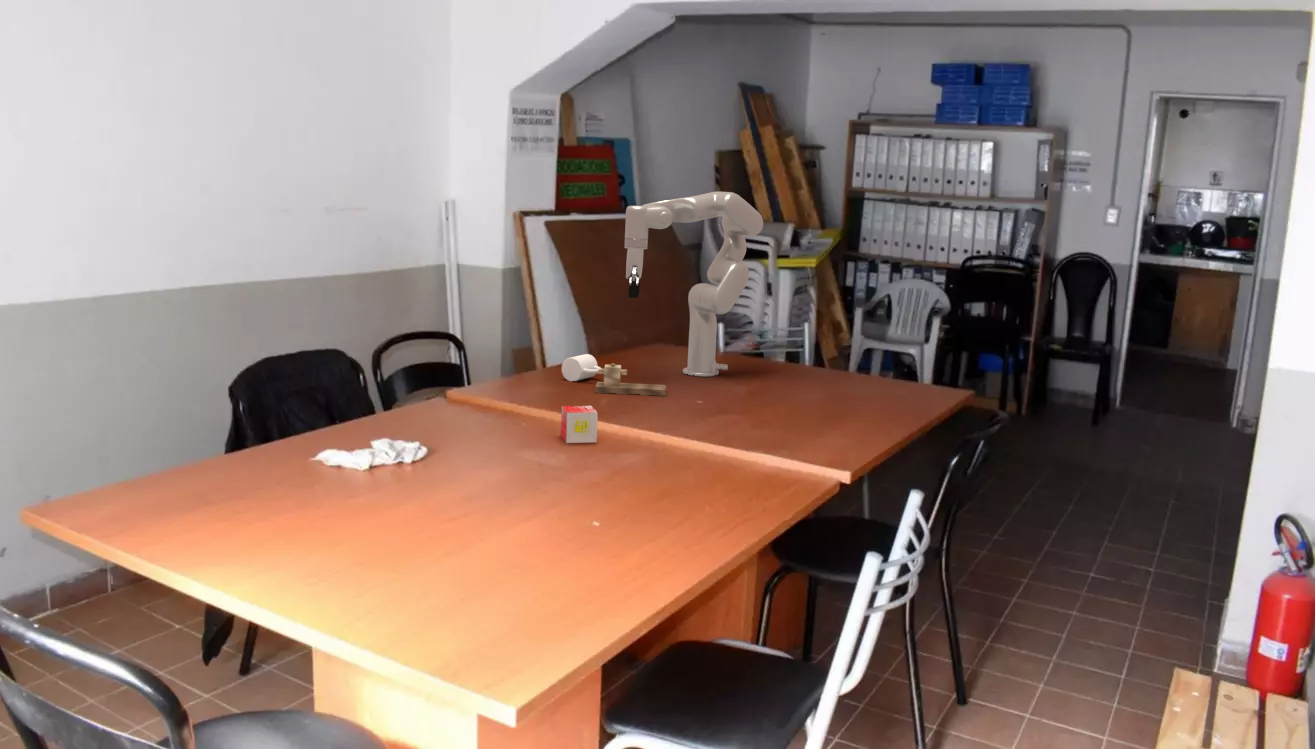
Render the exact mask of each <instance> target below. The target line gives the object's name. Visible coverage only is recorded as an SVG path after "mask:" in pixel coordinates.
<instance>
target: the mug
mask: <svg viewBox="0 0 1315 749" xmlns="http://www.w3.org/2000/svg"><path fill="white" fill-rule="evenodd" d="M598 369H602V367H601V366H598V361H597V360H596V358H595V357H594V356H593V355H592V354H590V353H589V354H588V353H585V354H579V355H576V356H572V357H567V358H565V360H564V361H563V362H562V364H561V373H562V375H563V377H564V379H566V381H569V382H572V381H575V382H578V381H581V380H586V379H589V378H593V377H594V376H595V375H596V374H598Z"/></svg>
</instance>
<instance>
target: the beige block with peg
mask: <svg viewBox="0 0 1315 749" xmlns="http://www.w3.org/2000/svg"><path fill="white" fill-rule="evenodd" d="M597 374H598V375H603V382H604V386H617V387H620V383H621V381H622V380H621V379H622V378H621V376H628V369H622V365H621V364H616V363H610V364H606V363H605V365H604V368H601V369H598V373H597Z"/></svg>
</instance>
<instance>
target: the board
mask: <svg viewBox="0 0 1315 749" xmlns="http://www.w3.org/2000/svg"><path fill="white" fill-rule="evenodd" d="M666 390H667V385H666V384H654V383H653V384H650V383H645V384H644V383H632V382H631V383H629V382H620V387H617V386H604V381H596V384H595V390H594V391H595V392H597V393H596V394H608V393H616V394H615V395H628V394H640V395H639V396H648V395H654V396H655V397H666ZM654 396H653V397H654Z"/></svg>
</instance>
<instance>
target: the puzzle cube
mask: <svg viewBox="0 0 1315 749" xmlns="http://www.w3.org/2000/svg"><path fill="white" fill-rule="evenodd" d="M598 418H599V417H598V411H597V410H596V409H595V408H594V407H593V406H592V405H562V406H561V415H560V420H561V421H560V436H561V438H562V439H563V440H564V442H565V443H566V444H575V443H576V444H577V443H578V444H579V443H597V442H598V441H597V440H598Z"/></svg>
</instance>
